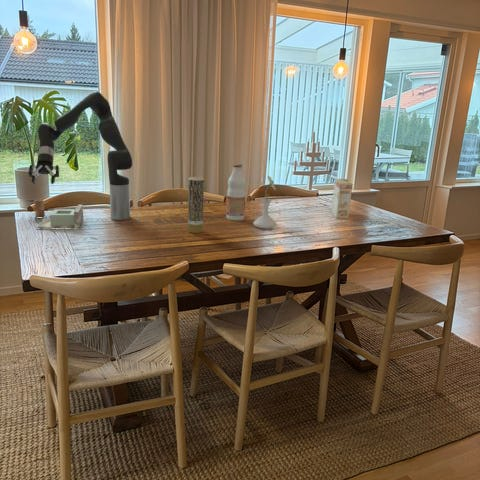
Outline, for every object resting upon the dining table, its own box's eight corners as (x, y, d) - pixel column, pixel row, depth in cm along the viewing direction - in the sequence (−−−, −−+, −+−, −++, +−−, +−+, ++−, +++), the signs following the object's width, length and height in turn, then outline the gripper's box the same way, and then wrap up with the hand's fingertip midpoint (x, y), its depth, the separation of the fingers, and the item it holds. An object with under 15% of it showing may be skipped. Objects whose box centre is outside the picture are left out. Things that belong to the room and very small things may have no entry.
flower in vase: (274, 231, 218) (278, 179, 211) (251, 229, 220) (254, 177, 213) (278, 224, 230) (281, 175, 223) (255, 222, 232) (258, 173, 225)
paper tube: (203, 230, 215) (205, 177, 207) (201, 234, 208) (202, 179, 201) (189, 229, 215) (190, 176, 208) (186, 233, 209) (187, 178, 201)
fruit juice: (233, 221, 232) (236, 166, 223) (222, 217, 238) (224, 163, 230) (247, 219, 237) (250, 165, 229) (236, 215, 244) (238, 162, 236)
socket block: (78, 219, 218) (77, 209, 217) (74, 225, 208) (74, 214, 207) (55, 219, 216) (54, 209, 214) (50, 225, 206) (49, 215, 205)
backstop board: (83, 220, 220) (82, 204, 218) (79, 228, 207) (78, 211, 205) (43, 221, 217) (42, 204, 215) (37, 229, 204) (35, 211, 201)
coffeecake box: (348, 219, 247) (353, 183, 241) (335, 218, 247) (339, 183, 241) (343, 212, 261) (347, 178, 255) (330, 212, 261) (334, 178, 256)
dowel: (45, 216, 225) (44, 199, 223) (43, 218, 221) (42, 201, 219) (36, 216, 224) (35, 199, 222) (35, 218, 221) (33, 201, 218)
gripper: (61, 161, 241) (59, 187, 234) (32, 161, 239) (29, 187, 231) (59, 152, 235) (56, 179, 227) (29, 152, 232) (25, 178, 225)
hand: (42, 183), depth 229 cm, fingers open, 8 cm apart
